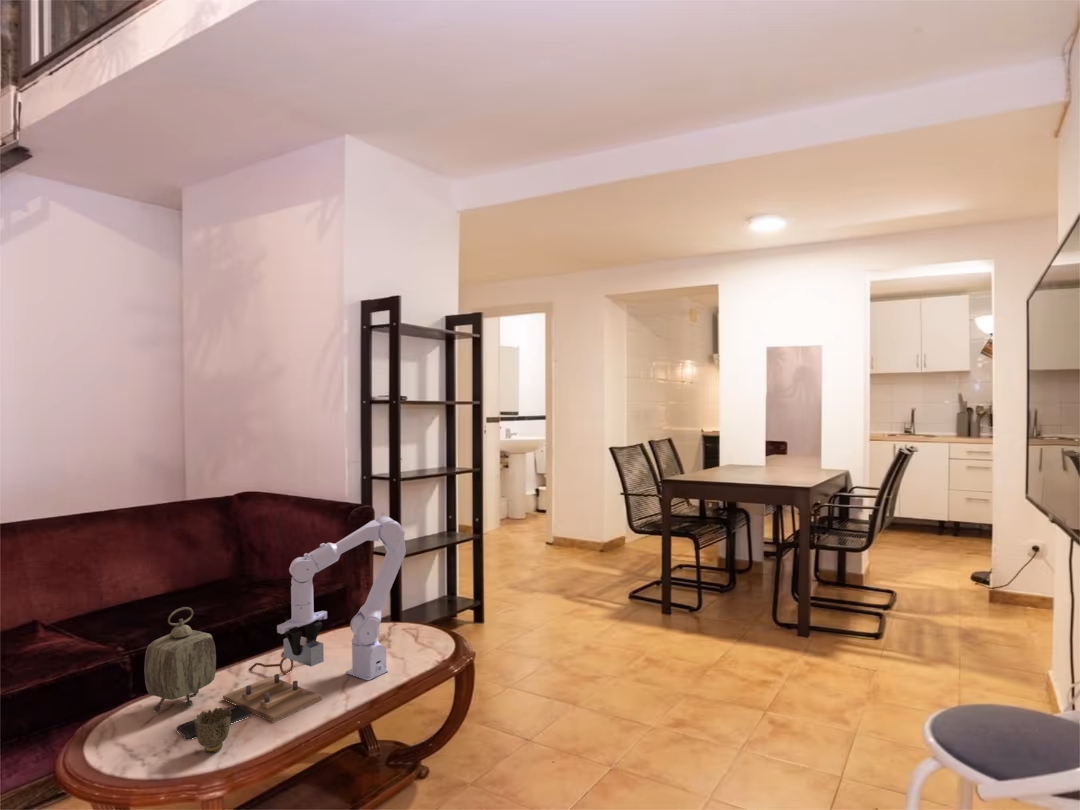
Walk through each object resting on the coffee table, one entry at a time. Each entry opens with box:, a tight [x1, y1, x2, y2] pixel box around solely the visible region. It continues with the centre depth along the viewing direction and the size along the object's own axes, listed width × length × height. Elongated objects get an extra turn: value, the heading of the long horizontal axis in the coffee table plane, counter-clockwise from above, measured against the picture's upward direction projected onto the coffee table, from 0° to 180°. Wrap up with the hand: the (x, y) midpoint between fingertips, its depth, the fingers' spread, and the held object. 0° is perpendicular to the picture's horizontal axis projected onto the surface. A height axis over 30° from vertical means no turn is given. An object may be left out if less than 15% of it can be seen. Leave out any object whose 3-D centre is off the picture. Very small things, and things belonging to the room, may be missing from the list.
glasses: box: [248, 651, 294, 675], centre depth 196 cm, size 13×13×5 cm
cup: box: [193, 707, 231, 754], centre depth 149 cm, size 8×7×8 cm
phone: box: [176, 705, 251, 740], centre depth 161 cm, size 8×1×15 cm
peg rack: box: [222, 673, 323, 723], centre depth 173 cm, size 22×14×4 cm, turn 56°
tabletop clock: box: [143, 606, 217, 713], centre depth 171 cm, size 14×9×25 cm, turn 154°
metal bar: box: [283, 635, 325, 667], centre depth 182 cm, size 12×4×5 cm, turn 56°
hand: (303, 651), depth 182 cm, fingers closed on metal bar, 4 cm apart
